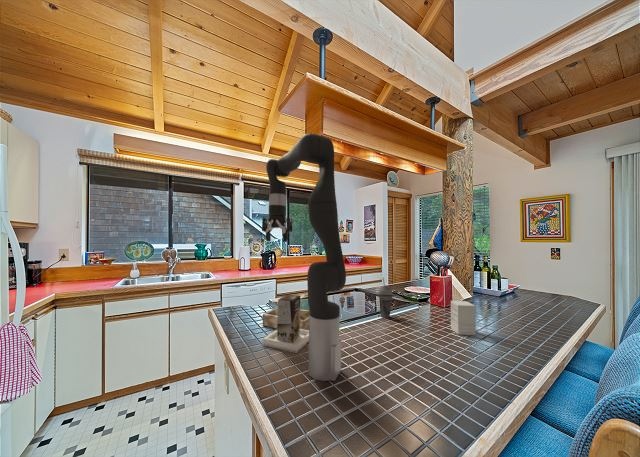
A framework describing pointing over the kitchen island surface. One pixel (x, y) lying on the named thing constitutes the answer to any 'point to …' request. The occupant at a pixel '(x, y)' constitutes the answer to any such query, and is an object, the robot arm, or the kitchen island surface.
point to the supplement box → (463, 317)
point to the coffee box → (288, 318)
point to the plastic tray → (295, 347)
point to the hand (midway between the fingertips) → (276, 241)
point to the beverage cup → (385, 301)
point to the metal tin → (276, 311)
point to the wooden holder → (271, 319)
